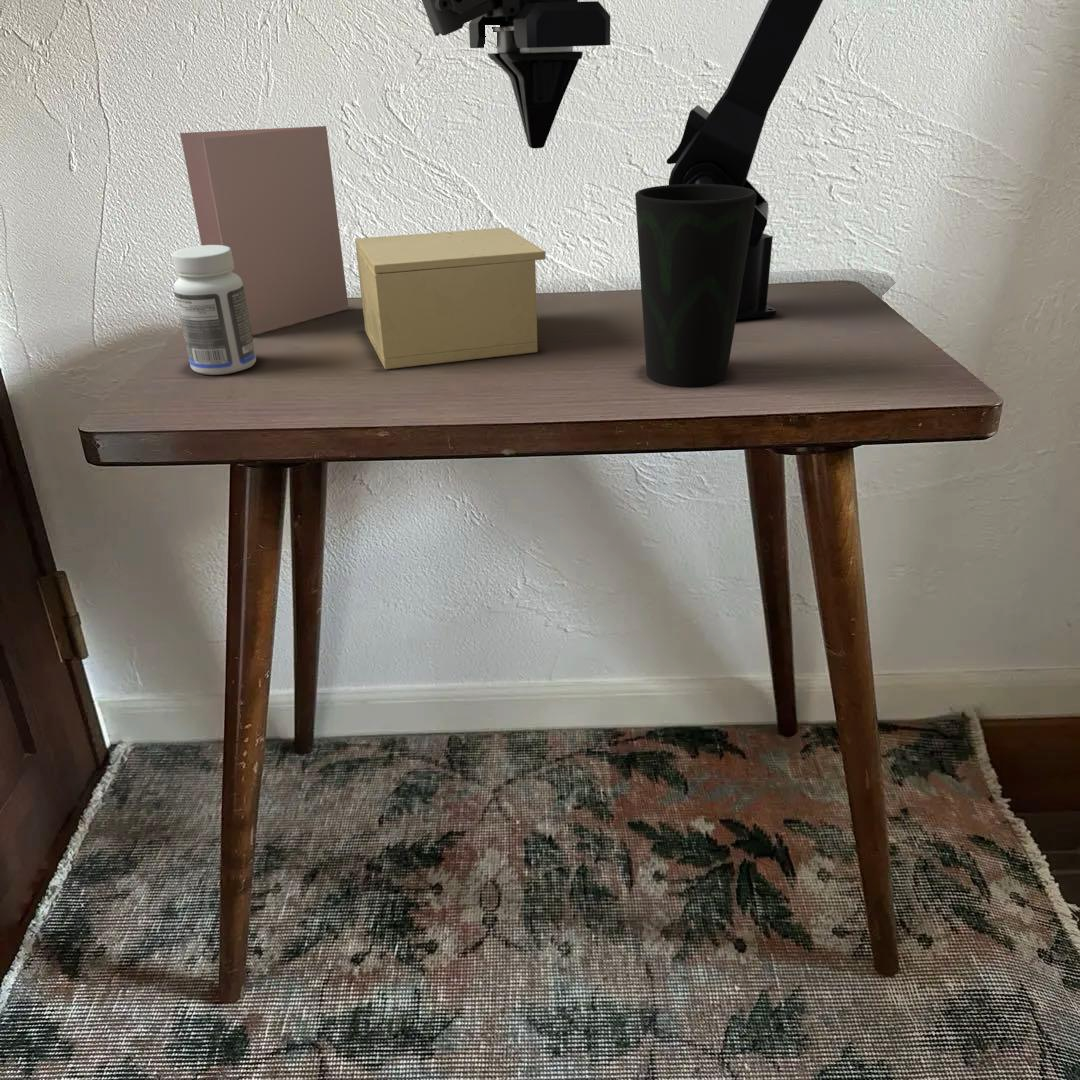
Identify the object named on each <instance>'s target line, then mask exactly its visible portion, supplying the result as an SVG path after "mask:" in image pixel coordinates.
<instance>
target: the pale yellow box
mask: <svg viewBox="0 0 1080 1080" xmlns="http://www.w3.org/2000/svg"><path fill="white" fill-rule="evenodd" d="M355 249H356V250H355V252H356V261H357V269H358V279H359V287H360V295H361V296H360V297H361V306H362V312H363V313H362V314H363V322H364V330H365V334H366V335H367V337H368V339H369V341H370V343H371V345H372V347H373V349H374V351H375V353H376V355H377V356H378V359H379V360H380V362H381V364H382V366H383V368H384V370H393V369H401V368H410V367H419V366H427V365H428V366H429V365H436V364H437V365H438V364H444V363H454V362H462V361H463V362H464V361H471V360H480V359H488V358H497V357H499V358H500V357H507V356H516V355H525V354H532V353H533V354H534V353H538V351H539V350H538V318H537V317H538V313H537V312H538V311H537V310H538V309H537V276H536V274H537V273H536V260H532V261H520V262H508V263H496V264H484V265H472V266H460V267H448V268H436V269H424V270H412V271H400V272H388V273H376V274H375V273H374V271H373V270H372V269H371V267H370V266H369V264H368V263H367V261H366V260H365V259H364V257H363V256H362V254H361V253H360V251H359V250H358V248H357V247H356V246H355Z"/></svg>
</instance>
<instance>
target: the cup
mask: <svg viewBox="0 0 1080 1080" xmlns="http://www.w3.org/2000/svg"><path fill="white" fill-rule="evenodd" d="M634 197H635V198H634V199H635V215H636V228H637V229H636V230H637V245H638V260H639V274H640V276H639V277H640V291H641V292H640V293H641V306H642V308H641V309H642V323H643V337H644V340H643V341H644V355H645V372H646V377H648V379H650V380H651V381H653V382H656V383H658V384H661V385H666V386H672V387H681V388H682V387H683V388H688V387H689V388H692V387H693V388H696V387H705V386H710V385H715V384H718V383H720V382H722V381H724V380H725V379H726V378H727V376H728V370H729V364H730V358H731V351H732V348H733V347H732V346H733V341H734V335H735V328H736V324H737V323H736V322H737V320H736V317H737V311H738V305H739V299H740V293H741V287H742V281H743V275H744V269H745V263H746V257H747V251H748V245H749V239H750V233H751V227H752V221H753V215H754V209H755V203H756V197H757V194H756V193H755V191H754V190H752V189H749V188H745V187H739V186H731V185H718V184H678V185H669V184H668V185H657V186H650V187H644V188H643V189H639V190H638V191H636V192H635V193H634Z"/></svg>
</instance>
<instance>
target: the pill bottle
mask: <svg viewBox="0 0 1080 1080" xmlns="http://www.w3.org/2000/svg"><path fill="white" fill-rule="evenodd" d="M171 256H172V262H173V269H174V271H175V274H176V276H178V277H179V278H177V280H176V281H175V282H174V284H173V293H174V298H175V301H176V307H177V311H178V316H179V320H180V324H181V325H180V326H181V328H182V329H181V330H182V333H183V337H184V338H183V339H184V342H185V343H184V344H185V349H186V353H187V357H188V362H189V365H190V368H191V370H192V371H194V372H195V373H198V374H201V375H207V376H220V375H228V374H229V375H230V374H233V373H237V372H242V371H244V370H247V369H249V368H252V367H254V365H255V363H256V362H257V354H256V350H255V343H254V337H253V335H252V331H251V325H250V320H249V315H248V309H247V304H246V299H245V293H244V286H243V283H242V280H241V278H240V277H239V276H238V275H237V274H235V273H233V272H232V270H233V269H234V261H233V257H232V251H231V249H230V248H229V247H227V246H222V245H203V246H202V245H193V246H188V247H184V248H179V249H177V250H175V251H173V252H172V254H171Z"/></svg>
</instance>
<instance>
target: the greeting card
mask: <svg viewBox="0 0 1080 1080" xmlns="http://www.w3.org/2000/svg"><path fill="white" fill-rule="evenodd" d="M179 135H180V141H181V145H182V151H183V157H184V161H185V166H186V167H185V168H186V172H187V177H188V182H189V187H190V193H191V198H192V203H193V208H194V213H195V218H196V219H195V220H196V223H197V224H196V225H197V229H198V234H199V239H200V246H203V245H222V246H227V247H229V248H230V249H231V251H232V257H233V261H234V269H233V270H232V272H233V273H235V274H237V275H238V276H239V277H240V278H241V280H242V283H243V286H244V293H245V299H246V304H247V309H248V315H249V320H250V325H251V331H252V336H253V335H257V334H261V333H264V332H267V331H271V330H276V329H280V328H282V327H286V326H290V325H293V324H297V323H301V322H304V321H308V320H312V319H316V318H320V317H323V316H326V315H330V314H335V313H338V312H342V311H345V310H348V309H349V308H350V307H349V301H348V300H349V299H348V292H347V284H346V277H345V276H346V275H345V269H344V259H343V251H342V245H341V243H342V242H341V235H340V228H339V217H338V213H337V203H336V195H335V187H334V178H333V170H332V163H331V155H330V154H331V153H330V147H329V145H330V144H329V139H328V129H327V125H321V126H320V125H319V126H299V127H278V128H276V127H275V128H257V129H256V128H255V129H235V130H215V131H214V130H213V131H196V132H195V131H194V132H193V131H192V132H179Z"/></svg>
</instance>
